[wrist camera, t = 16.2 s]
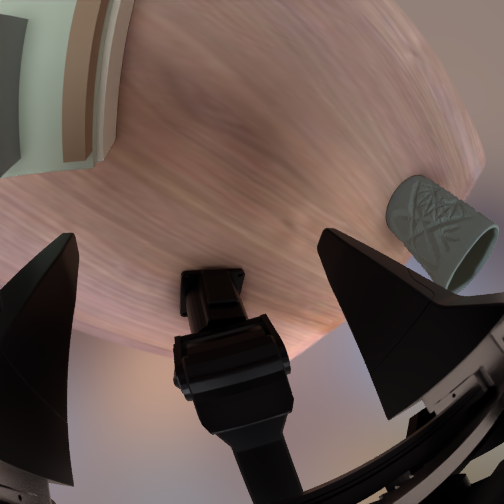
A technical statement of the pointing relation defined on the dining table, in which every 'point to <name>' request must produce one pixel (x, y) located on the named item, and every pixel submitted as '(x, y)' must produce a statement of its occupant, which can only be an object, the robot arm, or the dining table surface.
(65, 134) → the lid
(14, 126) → the tape dispenser
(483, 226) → the grey-green cup
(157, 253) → the dining table surface
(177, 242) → the dining table surface
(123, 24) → the box
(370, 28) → the dining table surface
